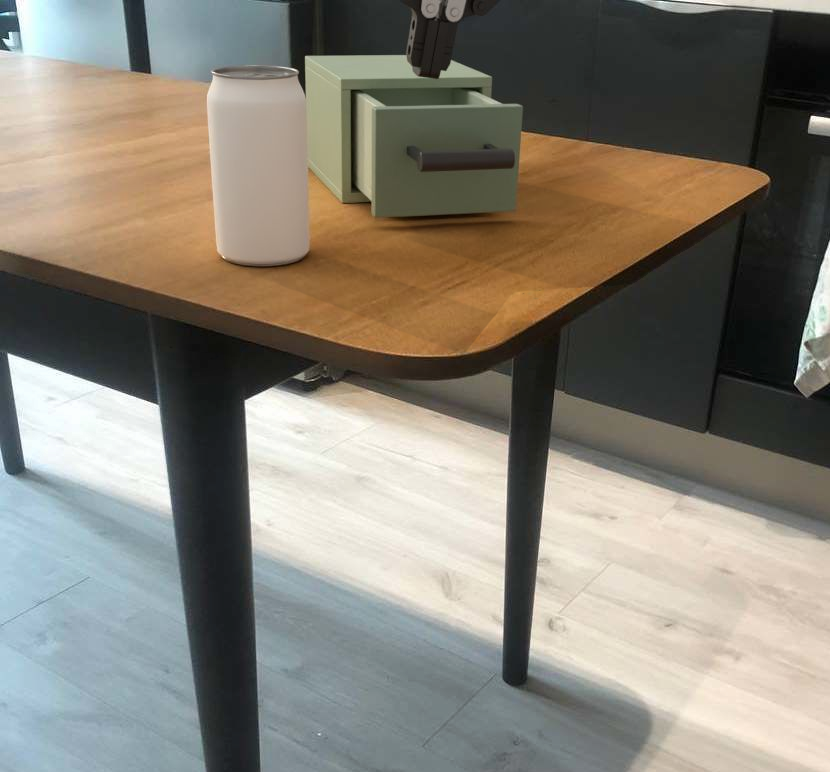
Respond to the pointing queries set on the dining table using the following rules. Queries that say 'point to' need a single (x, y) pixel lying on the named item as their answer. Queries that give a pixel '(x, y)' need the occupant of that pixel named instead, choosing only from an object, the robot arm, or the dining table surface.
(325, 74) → the cabinet
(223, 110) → the can
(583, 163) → the dining table surface
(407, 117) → the drawer
